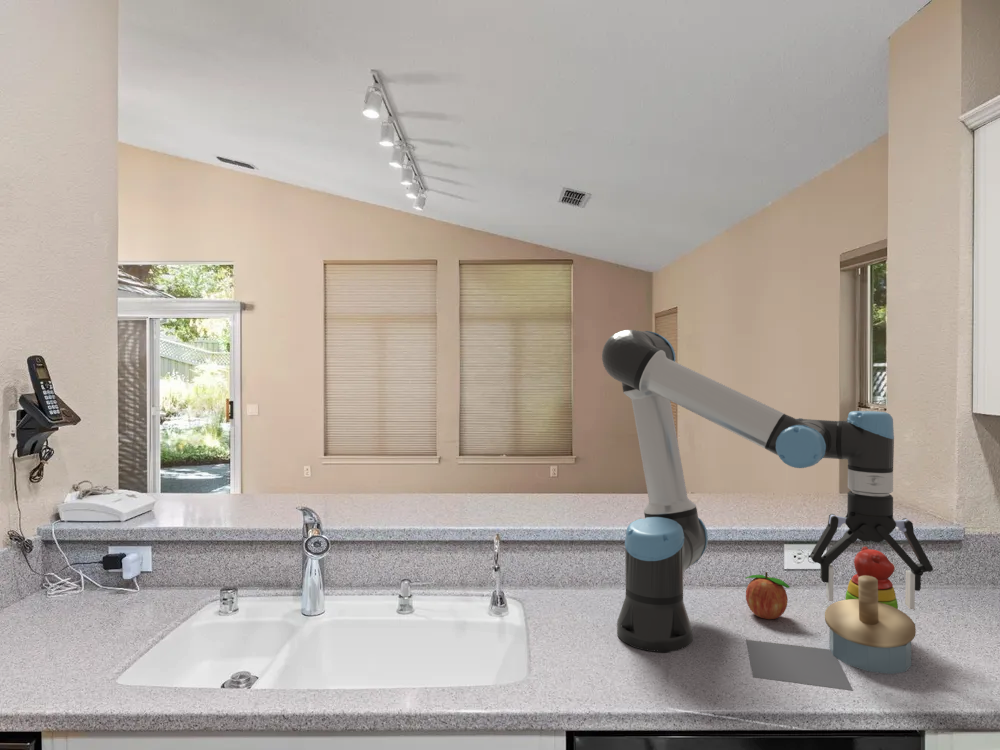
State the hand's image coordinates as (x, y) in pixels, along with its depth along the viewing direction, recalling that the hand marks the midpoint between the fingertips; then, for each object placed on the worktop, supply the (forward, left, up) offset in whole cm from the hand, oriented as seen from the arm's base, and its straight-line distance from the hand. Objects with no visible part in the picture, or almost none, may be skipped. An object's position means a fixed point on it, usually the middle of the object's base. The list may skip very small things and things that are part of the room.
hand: (869, 602), depth 120 cm
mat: (-14, -7, -11) cm, 19 cm away
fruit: (-17, +16, -11) cm, 25 cm away
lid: (0, 0, -4) cm, 4 cm away
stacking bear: (+4, +12, -11) cm, 16 cm away
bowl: (0, 0, -11) cm, 11 cm away
